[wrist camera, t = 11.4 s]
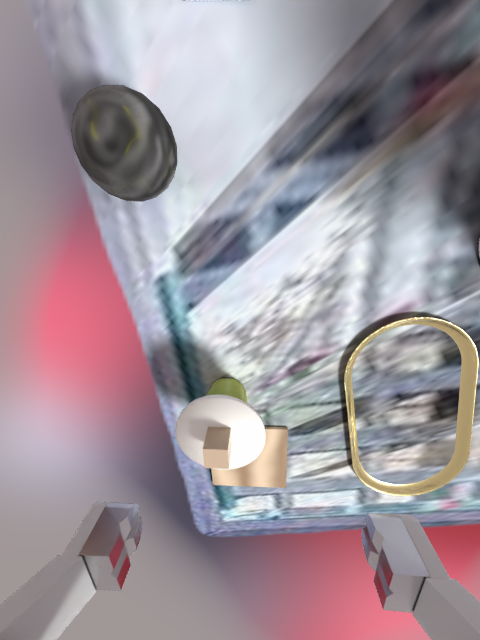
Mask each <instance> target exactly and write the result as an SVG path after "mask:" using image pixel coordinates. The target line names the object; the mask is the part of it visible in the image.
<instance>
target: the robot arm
mask: <svg viewBox="0 0 480 640" xmlns="http://www.w3.org/2000/svg"><path fill="white" fill-rule="evenodd" d="M479 257H480V240H479ZM138 511H139V507H138V504H137V503H118V502H100V501H99V502H98V501H97V502H95V503H94V504H93V505H92V506H91V508H90V510H89V511H88V513H87V515H86V516H85V518H84V520H83V521H82V523H81V525H80V526H79V528H78V529H77V531H76V533H75V535H74V536H73V538H72V539H71V541H70V543H69V544H68V546H67V548H66V549H65V551H64V553H63V554H62V555H57V556H56V557H55V558H54V559H53V560H51V561H50V562H49V563H48V564H47V565H46V566H44V567H43V568H42V569H41V570H40V571H39V572H37V573H36V574H35V575H34V576H33V577H32V578H30V579H29V580H28V581H27V582H26V583H25V584H24V585H22V586H21V587H20V588H19V589H18V590H16V591H15V592H14V593H13V594H12V595H11V596H10V597H8V598H7V599H6V600H5V601H4V602H3V603H1V604H0V640H56V639H57V638H58V637H59V636H60V635H61V633H62V632H63V631H64V630H65V629H66V627H67V626H68V625H69V624H70V622H71V621H72V620H73V619H74V617H76V615H77V614H78V613H79V612H80V610H81V609H82V608H83V607H84V606H85V605H86V603H87V602H88V601H89V600H90V599H91V597H92V596H93V595H94V594H95V592H96V590H114V591H120V590H121V589H122V587H123V584H124V581H125V579H126V576H127V574H128V571H129V568H130V566H131V564H130V558H129V557H130V556H131V555H132V554H133V553H134V552H135V551H136V550H137V547H138V544H139V542H140V539H141V534H142V524H143V522H142V519H141V517H140V516H139V515H138ZM364 520H365V523H366V526H365V527H364V528H363V529H362V543H363V548H364V553H365V556H366V559H367V562H368V564H369V565H370V566H371V567H372V568H373V570H374V571H375V576H374V584H375V586H376V590H377V593H378V596H379V598H380V602H381V605H382V608H383V610H391V611H401V612H410V613H413V616H414V617H415V618H416V620H417V621H418V622H419V624H420V625H421V626H422V628H423V629H424V630H425V632H426V633H427V634H428V636H429V637H430V638H431V639H432V640H480V602H479V601H478V600H477V599H476V598H475V597H474V596H473V595H472V594H471V593H469V592H468V591H467V590H466V589H465V588H464V587H463V586H462V585H461V584H460V583H459V582H458V581H457V580H456V579H450V577H449V576H448V574H447V572H446V570H445V568H444V566H443V564H442V563H441V561H440V559H439V557H438V555H437V554H436V552H435V550H434V548H433V546H432V545H431V543H430V541H429V539H428V537H427V536H426V534H425V532H424V530H423V528H422V526H421V525H420V523H419V521H418V519H417V518H416V517H415V516H413V515H400V514H374V513H367V514H366V515H365V519H364Z"/></svg>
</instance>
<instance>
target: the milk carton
mask: <svg viewBox="0 0 480 640" xmlns="http://www.w3.org/2000/svg"><path fill="white" fill-rule="evenodd" d="M184 1H248V0H184Z"/></svg>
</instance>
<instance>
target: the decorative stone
mask: <svg viewBox="0 0 480 640" xmlns="http://www.w3.org/2000/svg"><path fill="white" fill-rule="evenodd" d="M71 132H72V138H73V144H74V149H75V151H76V154H77V156H78V159H79V161H80V163H81V165H82V167H83V168H84V169H85V171H86V172H87V173H88V175H89V176H90V178H91V179H92V180H93V181H94V182H95V183H96V184H97V185H99V186H100V187H101V188H102V189H104V190H105V191H106V192H107V193H109V194H111V195H113V196H116V197H118V198H121V199H123V200H126V201H146V200H149V199H152V198H155V197H157V196H158V195H159V194H161V193H162V192H163V191H164V190H166V189H167V187H168V186H169V184H170V182H171V181H172V179H173V177H174V174H175V170H176V166H177V146H176V142H175V139H174V135H173V132H172V129H171V127H170V125H169V123H168V122H167V120H166V119H165V117H164V115H163V114H162V112H161V111H160V109H159V108H158V107H157V106H156V105H154V104H153V103H152V102H151V101H150V100H149V99H148V98H147V97H146V96H144V95H143V94H142V93H139V92H137V91H135V90H133V89H130V88H128V87H126V86H123V85H103V86H100V87H98V88H95V89H93V90H91V91H89V92H88V93H87V94H86V95H85V96H84V97H83V98H82V99H81V100H80V101H79V103H78V105H77V107H76V110H75V112H74V114H73V121H72V130H71Z"/></svg>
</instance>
